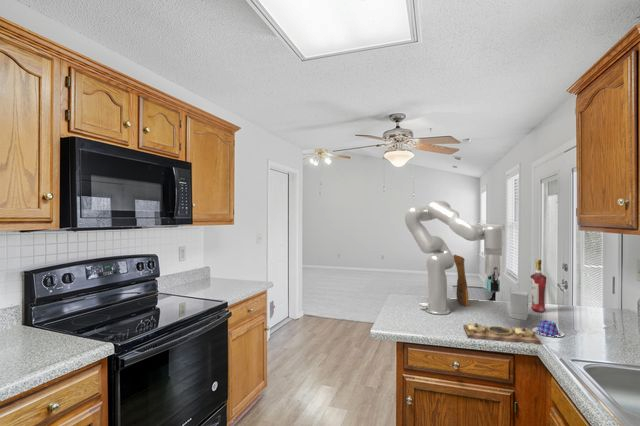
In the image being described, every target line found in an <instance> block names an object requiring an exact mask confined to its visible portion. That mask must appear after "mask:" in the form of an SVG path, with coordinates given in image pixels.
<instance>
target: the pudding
mask: <svg viewBox="0 0 640 426" xmlns="http://www.w3.org/2000/svg"><path fill="white" fill-rule="evenodd" d="M536 329H538V330H537V332H538V331H539V332H538V333H537V332H535V334H538V335H541V336H543V335H544V334H545V335H544V336H546V335H548V336H549V335H551V336H550V337H552V338H553V337H554V336H555V335H558V336H557V337H556V338H560V337H564V336H565V333H564V332H562V331H561V330H558V326H557V323H556V322H554V321H552V320H547V319H542V320H540V321H539V323H538V326H537V327H533V328H532V330H531V331H535V330H536ZM558 332H560V333H561V334H562V335H561V336H559V333H558ZM539 333H543V335H542V334H539ZM546 337H547V336H546ZM554 338H555V337H554Z"/></svg>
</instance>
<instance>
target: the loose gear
mask: <svg viewBox="0 0 640 426" xmlns="http://www.w3.org/2000/svg"><path fill="white" fill-rule="evenodd" d="M485 282H486V291H487V292H492V293H499V292H501V291H500V289H501V286H500V284H501V280H499V279H498V283H499V291H491V282H492V281H491V279H488V278H487V279H486V281H485Z"/></svg>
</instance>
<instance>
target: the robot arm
mask: <svg viewBox="0 0 640 426" xmlns="http://www.w3.org/2000/svg"><path fill="white" fill-rule="evenodd" d="M404 215H405V216H404V221H405V222H404V223H405V225H406V227H407V229H408V230H409V232H410V233H411V235H412V236H413V239H414V240H415V242H416V244H417V246H418V247H419V249H420V251H421V252H423V253H424V254H425V255H427V254H431V255H429V256H428V257H427V259H426V270H427V276H428V277H427V279H428V281H427V282H428V288H427V289H428V292H427V295H428V300H427V302H419V307H421V308H425V312H427V313H429V314H432V315H440V316H442V315H448V314H450V311H451V310H450V308H448V307H447V306H448V303H447V302H448V299H447V298H448V296H447V292H448V290H447V289H448V285H447V284H448V283H447V282H448V281H447V275H446V272H445V271H446V270H450V269H452V268H453V267H454V266H455V260H454V257H453V256H454V255H453V253H452V251H451V250H450V248H449V247H448V245H447V243H446V242H445V240H444V239H443V238H441V237H440V236H438V235H431V234H430V232H429V231H428V229H427V227H425V226H424V224H423V223H422V222H429V221H432V220H436V219H437V220H438V221H440V222H442V223H443V224H445V225H447V226H448V228H450V230H451V231H452V232H453V233H455V234H456V235H457V236H458V237H461V238H462V239H464V240H466V241H469V242H474V241H475V242H476V241H483V244H484V245H483V246H484V247H483V249H484V255H485V259H484V261H485V262H484V273H485V275H487V279H491V281H492V282H491V291H499V283H498V280H499V277H500V276H501V256H503V240H502V239H503V229H502V227H501V226H499V225H483V224H469V223H468V222H466V221H464V220H463V219H461V218H460V213H459V212H458V211H457V210H455V209H453V208H452V207H451V205H450V203H448V202H447V201H446V200H445V201H444V200H432V201H431V202H429V203H428V205H426V206H411V207H409V208H408V209H407V211H406V213H405V214H404ZM499 292H500V291H499Z"/></svg>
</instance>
